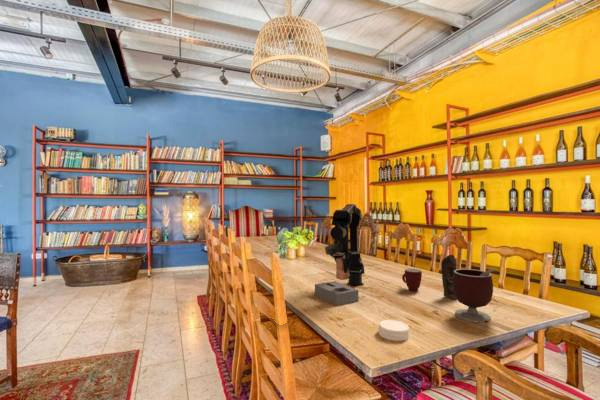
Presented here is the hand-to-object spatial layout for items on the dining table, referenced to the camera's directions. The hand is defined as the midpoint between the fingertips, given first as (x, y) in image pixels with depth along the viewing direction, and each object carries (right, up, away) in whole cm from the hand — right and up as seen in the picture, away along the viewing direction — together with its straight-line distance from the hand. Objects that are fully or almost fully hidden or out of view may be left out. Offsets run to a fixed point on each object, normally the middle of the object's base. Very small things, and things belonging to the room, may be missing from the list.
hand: (342, 271), depth 141 cm
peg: (0, -3, 0) cm, 3 cm away
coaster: (+13, -13, -36) cm, 40 cm away
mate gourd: (+49, -13, -20) cm, 54 cm away
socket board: (-3, -13, +4) cm, 14 cm away
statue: (+52, -13, +5) cm, 54 cm away
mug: (+37, -13, +17) cm, 43 cm away
